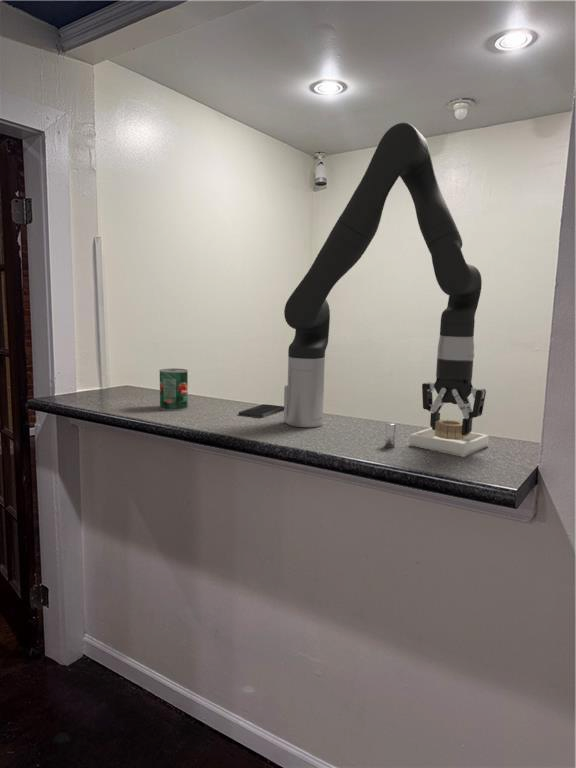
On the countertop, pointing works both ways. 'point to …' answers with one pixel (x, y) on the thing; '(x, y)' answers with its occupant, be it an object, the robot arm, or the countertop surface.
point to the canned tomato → (173, 389)
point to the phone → (262, 411)
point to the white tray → (449, 443)
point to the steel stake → (390, 435)
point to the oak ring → (449, 429)
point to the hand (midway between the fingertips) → (450, 432)
